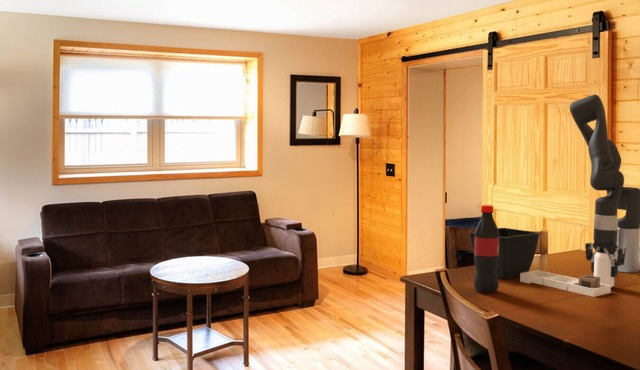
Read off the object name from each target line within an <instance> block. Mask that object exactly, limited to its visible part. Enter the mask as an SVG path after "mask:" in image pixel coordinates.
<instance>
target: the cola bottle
mask: <svg viewBox="0 0 640 370" xmlns="http://www.w3.org/2000/svg"><path fill="white" fill-rule="evenodd" d="M480 213H481V217H480V220H479V221H478V223H477V225H476V228H475V230H474V231H475V233H474V236H475V249H474V252H473V259H474V266H475V267H474V268H475V275H474V277H473V287H474V290H475V291H477V292H478V293H483V294H493V293H496V292H497V291H498V288H499V285H500V280H499V278H498V276H497V267H498V262H499V236H500V234H499V231H498V228H499V227H498V226H497V223H496V222H495V221H496V220H495V219H494V217H493V214H494V205H492V204H491V205H490V204H485V205H481V208H480Z"/></svg>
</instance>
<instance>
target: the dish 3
mask: <svg viewBox="0 0 640 370" xmlns="http://www.w3.org/2000/svg"><path fill="white" fill-rule="evenodd" d="M611 288H612V287H611V286H610V285H606V284H601V283H600V287H598V288H594V289H592V288H588V287H583V286H579V282H574V283H569V284H568V290H567V291H568V292H571V293H576V294H580V295H584V296H587V297H599V296H603V295H607V294H611V293H612V289H611Z"/></svg>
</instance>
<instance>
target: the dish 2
mask: <svg viewBox="0 0 640 370" xmlns="http://www.w3.org/2000/svg"><path fill="white" fill-rule="evenodd" d="M574 282H579V277H578V278H576V277H572V276H568V275H564V274H559V275H557V276H552V277H547V278H543V285H542V286H545V287H546V286H547V287H549V288H555V289H559V290H562V291H568V284H569V283H574Z"/></svg>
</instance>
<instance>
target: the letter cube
mask: <svg viewBox="0 0 640 370" xmlns="http://www.w3.org/2000/svg"><path fill="white" fill-rule="evenodd" d="M578 279H579V286H583V287H588V288H592V289H594V288H598V287H600V277H596V276H594V275H589V274H584V275H581V276H578Z"/></svg>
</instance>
